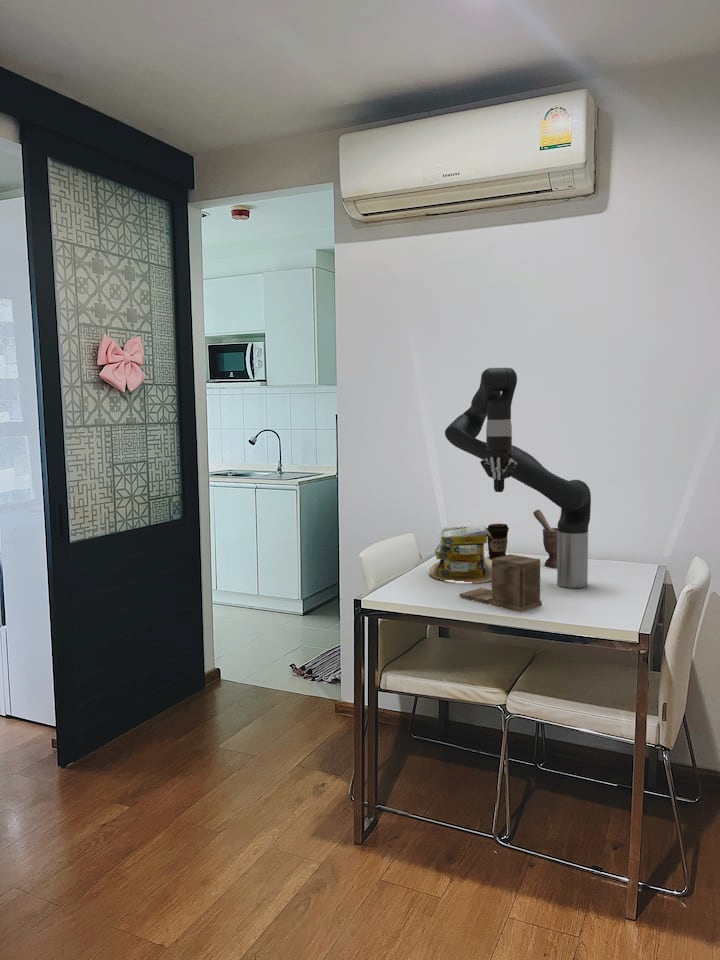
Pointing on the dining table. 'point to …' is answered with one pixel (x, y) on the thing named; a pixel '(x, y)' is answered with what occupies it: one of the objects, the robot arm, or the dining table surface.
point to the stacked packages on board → (462, 555)
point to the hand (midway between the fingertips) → (499, 491)
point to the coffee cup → (497, 540)
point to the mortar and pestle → (548, 539)
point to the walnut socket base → (511, 584)
